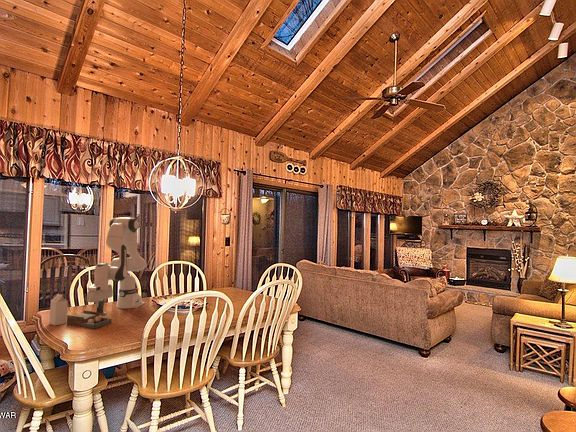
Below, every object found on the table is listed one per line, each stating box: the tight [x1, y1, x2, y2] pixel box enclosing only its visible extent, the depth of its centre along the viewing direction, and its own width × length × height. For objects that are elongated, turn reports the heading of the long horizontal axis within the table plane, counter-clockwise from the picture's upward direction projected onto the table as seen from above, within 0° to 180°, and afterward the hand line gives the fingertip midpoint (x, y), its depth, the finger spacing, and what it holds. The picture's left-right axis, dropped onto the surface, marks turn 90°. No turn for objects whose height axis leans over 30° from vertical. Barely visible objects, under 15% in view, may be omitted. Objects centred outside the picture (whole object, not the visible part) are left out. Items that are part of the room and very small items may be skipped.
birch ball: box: [94, 316, 102, 323], centre depth 229 cm, size 4×4×4 cm
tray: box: [81, 316, 112, 330], centre depth 225 cm, size 14×10×3 cm
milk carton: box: [49, 293, 69, 326], centre depth 226 cm, size 7×7×19 cm
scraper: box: [95, 300, 108, 317], centre depth 240 cm, size 10×3×10 cm, turn 76°
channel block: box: [66, 309, 100, 328], centre depth 228 cm, size 14×12×6 cm
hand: (100, 306), depth 240 cm, fingers closed on scraper, 3 cm apart
